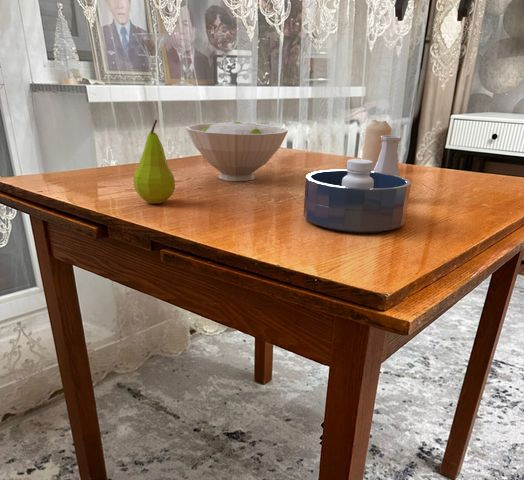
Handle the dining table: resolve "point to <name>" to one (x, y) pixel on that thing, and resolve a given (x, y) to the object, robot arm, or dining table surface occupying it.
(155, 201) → the fruit
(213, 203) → the dining table surface
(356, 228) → the blue dish
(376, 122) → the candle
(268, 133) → the bowl
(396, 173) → the flask
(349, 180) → the pill bottle
